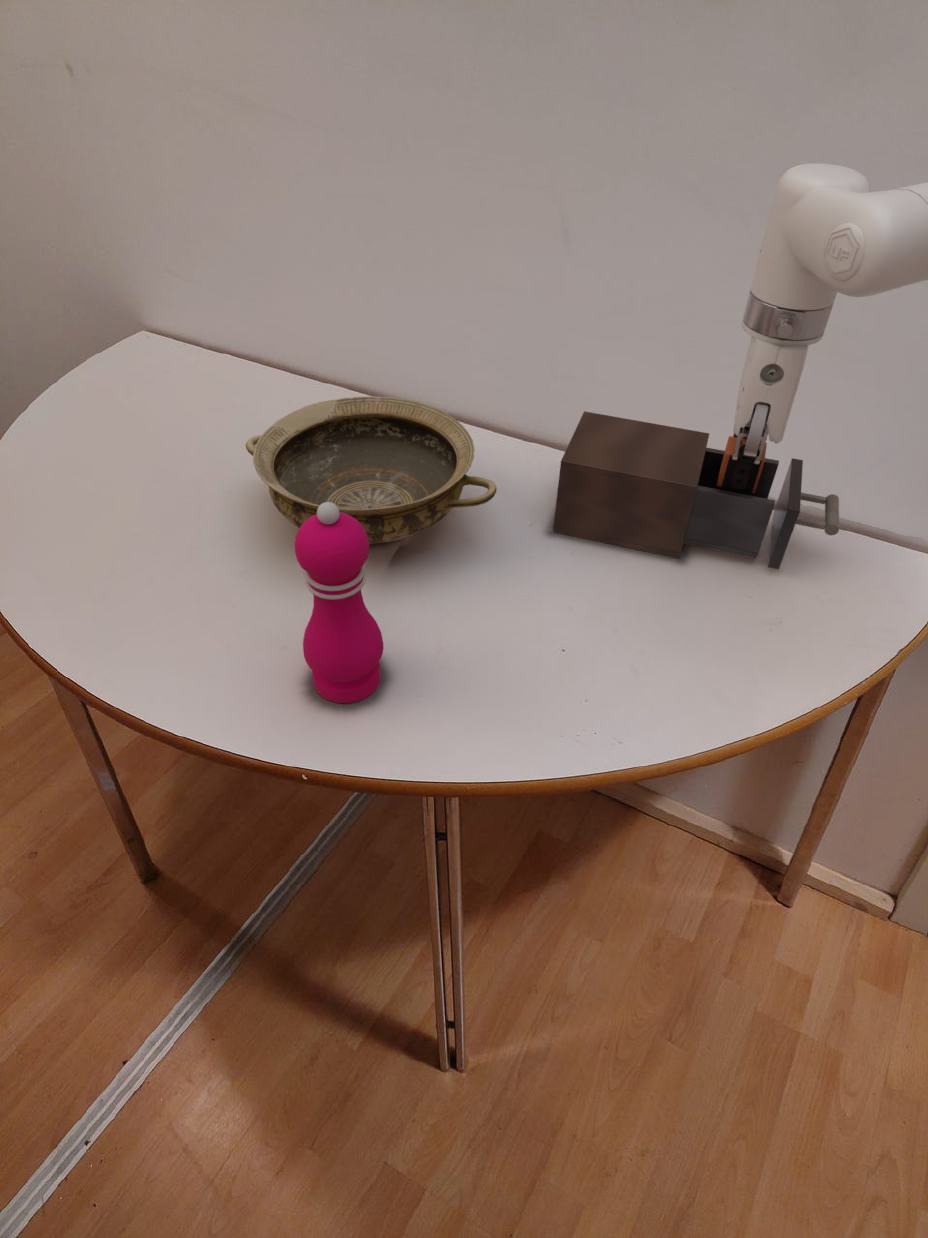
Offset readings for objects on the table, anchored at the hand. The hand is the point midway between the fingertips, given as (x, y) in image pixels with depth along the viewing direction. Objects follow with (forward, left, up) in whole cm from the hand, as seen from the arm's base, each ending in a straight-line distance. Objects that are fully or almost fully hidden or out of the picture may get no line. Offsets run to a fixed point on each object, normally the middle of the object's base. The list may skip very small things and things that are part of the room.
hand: (738, 477), depth 89 cm
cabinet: (+11, 0, -8) cm, 14 cm away
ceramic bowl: (+39, +11, -8) cm, 42 cm away
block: (0, 0, 0) cm, 0 cm away
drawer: (-2, 0, -7) cm, 7 cm away
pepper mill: (+31, +35, -8) cm, 48 cm away
